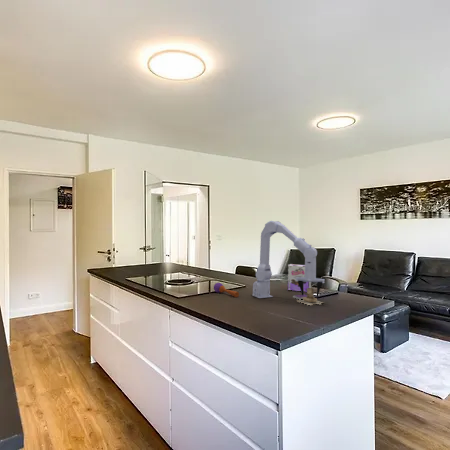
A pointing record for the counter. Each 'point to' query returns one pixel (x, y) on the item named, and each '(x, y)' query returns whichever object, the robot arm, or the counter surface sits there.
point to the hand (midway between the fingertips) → (310, 295)
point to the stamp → (310, 296)
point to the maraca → (220, 288)
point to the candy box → (296, 272)
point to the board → (309, 303)
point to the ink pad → (299, 296)
